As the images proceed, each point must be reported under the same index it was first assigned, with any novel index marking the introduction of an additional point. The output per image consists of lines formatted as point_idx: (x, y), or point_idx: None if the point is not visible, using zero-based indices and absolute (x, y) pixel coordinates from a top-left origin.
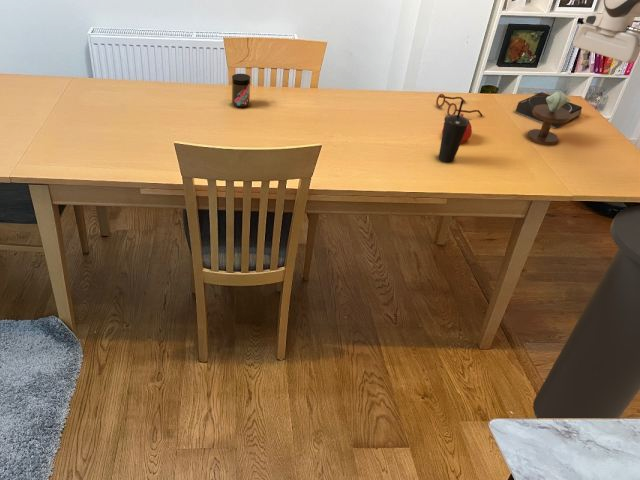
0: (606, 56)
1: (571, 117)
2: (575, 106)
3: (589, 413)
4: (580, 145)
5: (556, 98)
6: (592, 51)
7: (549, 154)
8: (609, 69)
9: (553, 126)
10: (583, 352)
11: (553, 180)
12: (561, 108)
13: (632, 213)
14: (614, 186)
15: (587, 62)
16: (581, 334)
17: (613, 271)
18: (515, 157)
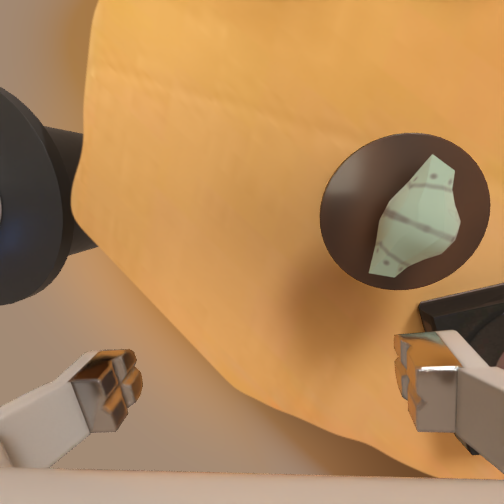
0: (51, 469)
1: None
2: None
3: None
4: (300, 288)
5: (404, 199)
6: (369, 483)
7: (282, 155)
8: (83, 372)
9: (429, 301)
10: None
11: (155, 59)
12: (410, 280)
13: (40, 177)
14: (107, 205)
15: (409, 398)
16: None
17: (56, 131)
18: (297, 21)
